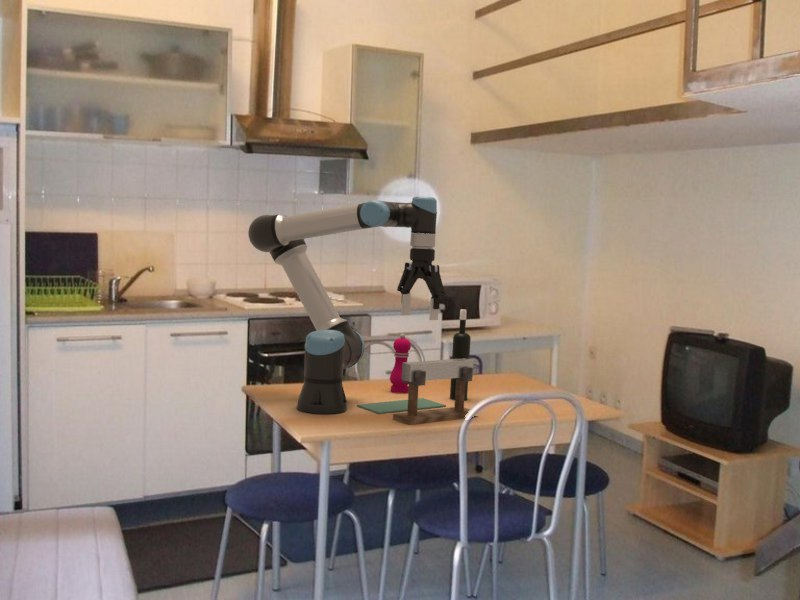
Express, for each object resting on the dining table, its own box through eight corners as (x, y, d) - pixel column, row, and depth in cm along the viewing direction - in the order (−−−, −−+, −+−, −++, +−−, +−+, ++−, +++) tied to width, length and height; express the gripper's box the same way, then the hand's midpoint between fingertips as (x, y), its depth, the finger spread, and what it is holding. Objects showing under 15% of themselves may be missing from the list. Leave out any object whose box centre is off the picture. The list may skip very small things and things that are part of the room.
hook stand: (409, 424, 251) (411, 373, 250) (392, 419, 257) (395, 368, 256) (477, 416, 267) (480, 367, 265) (460, 411, 273) (462, 363, 272)
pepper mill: (401, 394, 295) (404, 335, 293) (384, 391, 299) (387, 332, 297) (414, 391, 301) (417, 333, 299) (397, 388, 305) (400, 331, 303)
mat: (378, 414, 263) (379, 412, 263) (356, 406, 273) (356, 404, 273) (445, 406, 279) (446, 405, 278) (422, 399, 288) (422, 398, 288)
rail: (409, 381, 252) (410, 364, 252) (401, 379, 255) (402, 362, 255) (472, 376, 266) (473, 360, 266) (464, 374, 270) (465, 358, 269)
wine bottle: (455, 396, 296) (460, 308, 293) (470, 399, 293) (475, 309, 290) (446, 398, 291) (451, 308, 289) (461, 401, 288) (466, 310, 285)
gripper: (459, 250, 259) (455, 321, 260) (407, 246, 278) (404, 312, 280) (439, 249, 254) (436, 322, 256) (388, 245, 274) (385, 313, 276)
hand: (419, 317), depth 268 cm, fingers open, 13 cm apart
